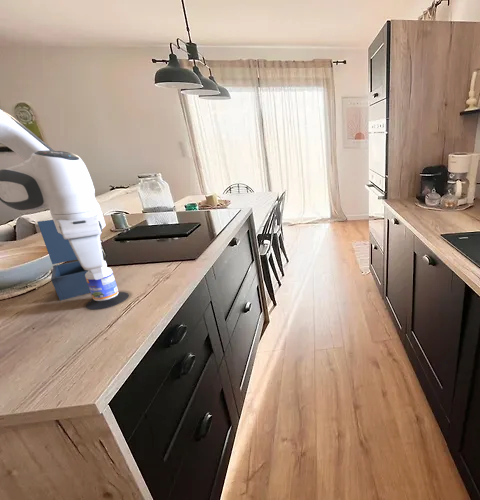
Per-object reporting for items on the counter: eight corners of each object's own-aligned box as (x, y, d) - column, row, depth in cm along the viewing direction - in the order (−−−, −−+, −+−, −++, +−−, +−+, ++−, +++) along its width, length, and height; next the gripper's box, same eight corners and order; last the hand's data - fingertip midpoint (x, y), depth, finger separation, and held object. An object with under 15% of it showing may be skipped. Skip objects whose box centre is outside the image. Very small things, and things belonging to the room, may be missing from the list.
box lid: (87, 215, 87) (87, 215, 87) (37, 221, 80) (37, 221, 81) (100, 255, 88) (100, 255, 89) (52, 264, 82) (52, 264, 82)
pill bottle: (88, 300, 74) (75, 266, 71) (108, 290, 79) (97, 257, 76) (104, 302, 73) (92, 268, 70) (124, 292, 78) (114, 259, 75)
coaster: (80, 314, 71) (79, 312, 71) (94, 297, 79) (94, 295, 79) (123, 306, 74) (123, 305, 74) (133, 291, 82) (132, 289, 82)
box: (110, 289, 83) (103, 267, 81) (60, 302, 77) (50, 279, 74) (107, 276, 91) (100, 256, 89) (61, 286, 85) (53, 265, 82)
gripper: (63, 216, 74) (81, 265, 79) (61, 234, 60) (83, 292, 65) (95, 212, 78) (110, 259, 83) (100, 228, 64) (118, 283, 69)
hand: (98, 274), depth 74 cm, fingers closed on pill bottle, 5 cm apart
